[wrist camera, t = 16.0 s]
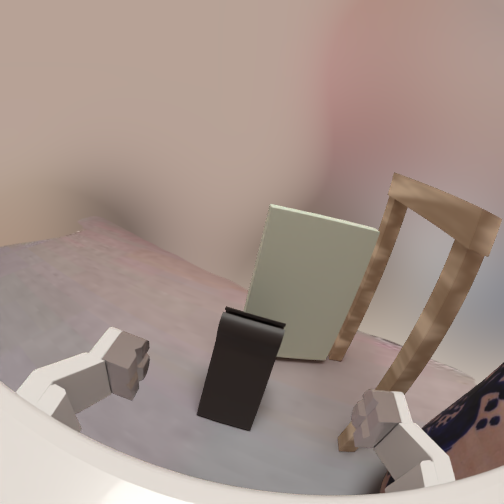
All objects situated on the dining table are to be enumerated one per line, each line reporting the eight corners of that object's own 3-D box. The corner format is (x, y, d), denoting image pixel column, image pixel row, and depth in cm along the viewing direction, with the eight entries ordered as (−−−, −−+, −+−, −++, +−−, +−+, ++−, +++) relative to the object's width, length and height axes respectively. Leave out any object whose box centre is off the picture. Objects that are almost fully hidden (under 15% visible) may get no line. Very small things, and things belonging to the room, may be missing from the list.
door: (234, 339, 40) (268, 201, 32) (321, 348, 42) (371, 225, 34) (234, 352, 38) (271, 207, 30) (325, 360, 39) (380, 232, 32)
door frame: (337, 452, 26) (482, 208, 15) (326, 349, 43) (394, 172, 32) (356, 453, 25) (502, 219, 15) (340, 352, 43) (410, 178, 32)
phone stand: (249, 431, 27) (280, 358, 22) (196, 415, 28) (209, 337, 23) (263, 377, 35) (289, 303, 31) (218, 364, 36) (235, 287, 31)
